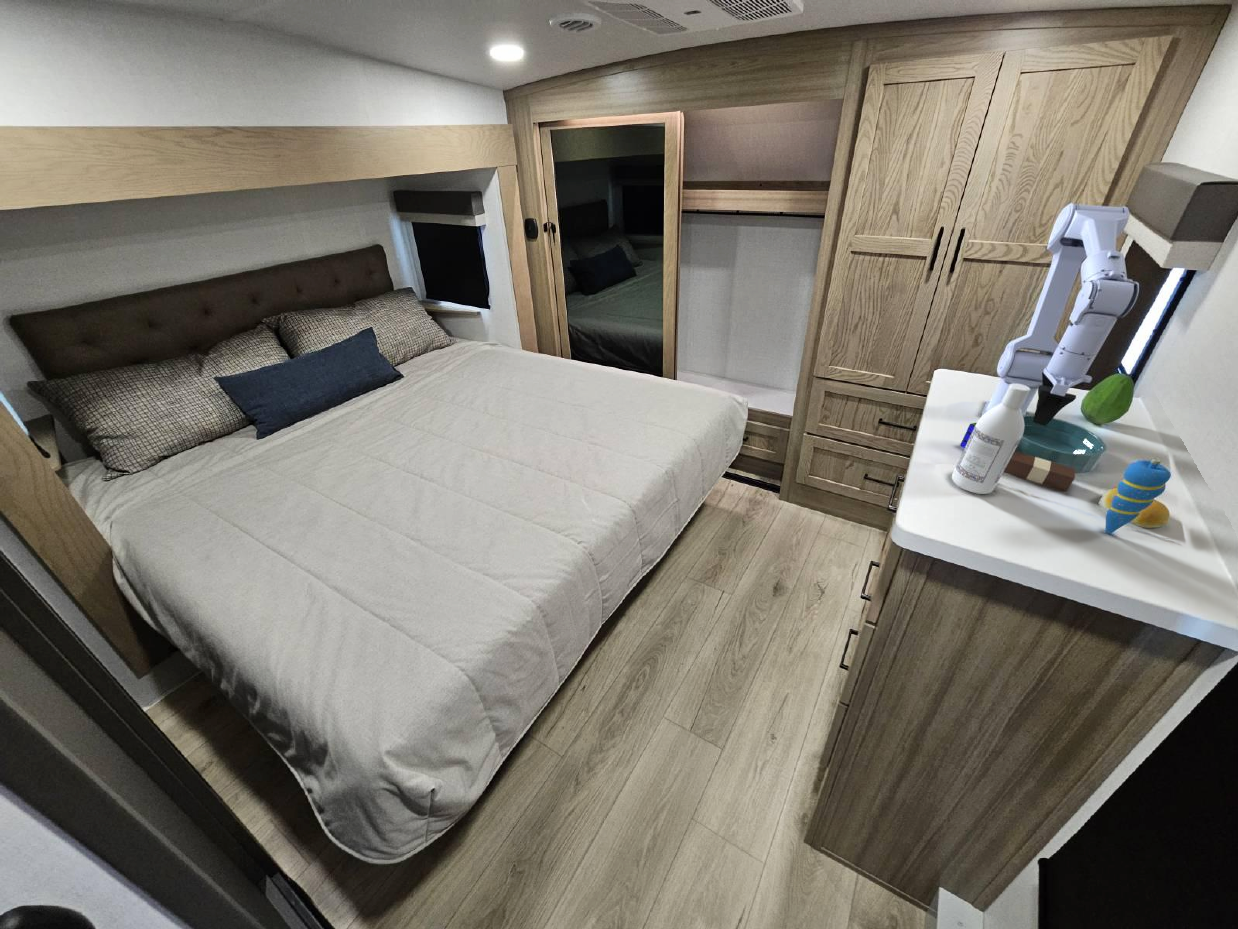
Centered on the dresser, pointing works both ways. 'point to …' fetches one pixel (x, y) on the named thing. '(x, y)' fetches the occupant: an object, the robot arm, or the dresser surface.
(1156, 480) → the ornament
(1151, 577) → the dresser surface
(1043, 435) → the bowl
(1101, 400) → the avocado
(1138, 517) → the bread roll
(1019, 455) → the snack bar
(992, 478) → the bath foam
